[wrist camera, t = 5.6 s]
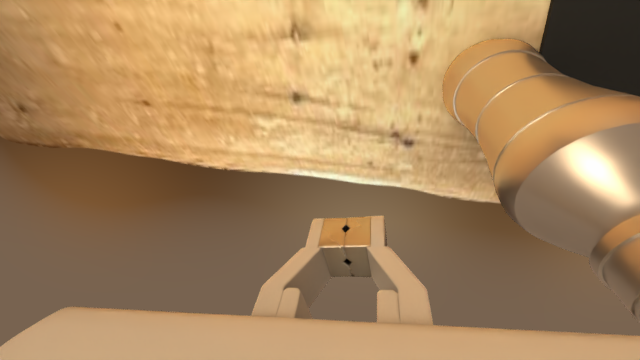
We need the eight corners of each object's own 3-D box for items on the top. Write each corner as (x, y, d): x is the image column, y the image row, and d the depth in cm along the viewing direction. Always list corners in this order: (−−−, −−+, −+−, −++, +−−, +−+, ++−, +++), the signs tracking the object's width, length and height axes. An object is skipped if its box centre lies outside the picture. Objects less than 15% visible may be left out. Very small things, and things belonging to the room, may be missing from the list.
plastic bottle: (504, 116, 24) (764, 383, 8) (426, 109, 25) (525, 341, 9) (543, 35, 20) (1188, 241, 4) (449, 29, 21) (699, 187, 5)
